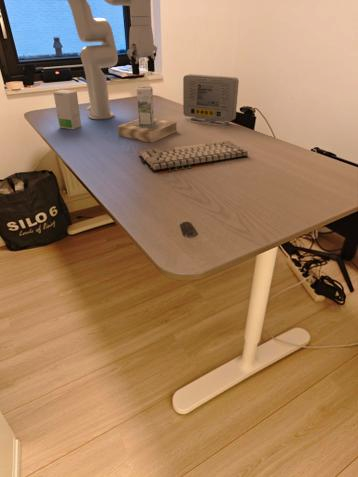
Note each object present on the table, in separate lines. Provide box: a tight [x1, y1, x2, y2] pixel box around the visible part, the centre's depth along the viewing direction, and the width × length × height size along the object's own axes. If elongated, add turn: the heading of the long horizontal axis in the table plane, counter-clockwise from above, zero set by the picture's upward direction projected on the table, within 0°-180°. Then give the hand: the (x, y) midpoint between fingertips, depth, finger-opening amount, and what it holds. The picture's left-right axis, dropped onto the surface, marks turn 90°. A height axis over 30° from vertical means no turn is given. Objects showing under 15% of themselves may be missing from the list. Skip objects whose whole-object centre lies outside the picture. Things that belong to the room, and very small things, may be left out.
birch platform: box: [117, 118, 177, 143], centre depth 146 cm, size 18×18×4 cm
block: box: [179, 221, 199, 238], centre depth 82 cm, size 4×6×2 cm, turn 15°
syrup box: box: [136, 86, 155, 125], centre depth 141 cm, size 6×6×14 cm
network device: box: [182, 73, 240, 127], centre depth 156 cm, size 26×9×20 cm, turn 62°
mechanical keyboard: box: [138, 140, 249, 175], centre depth 122 cm, size 38×19×3 cm, turn 113°
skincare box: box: [53, 89, 82, 130], centre depth 152 cm, size 8×7×16 cm
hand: (143, 73), depth 134 cm, fingers open, 9 cm apart
